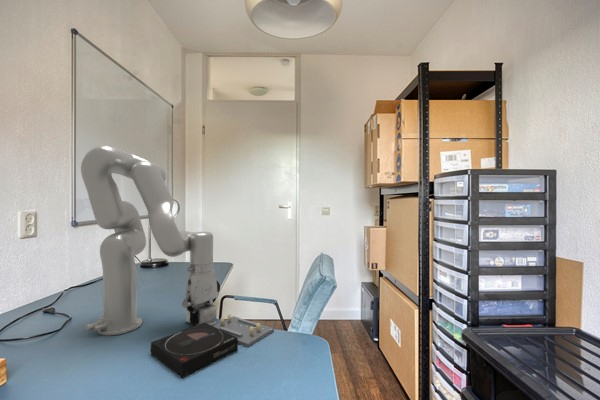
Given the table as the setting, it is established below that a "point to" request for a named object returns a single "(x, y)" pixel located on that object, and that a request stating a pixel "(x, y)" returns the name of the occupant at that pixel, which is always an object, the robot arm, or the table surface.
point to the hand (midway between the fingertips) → (201, 320)
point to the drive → (204, 313)
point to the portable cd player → (193, 348)
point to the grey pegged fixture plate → (244, 330)
